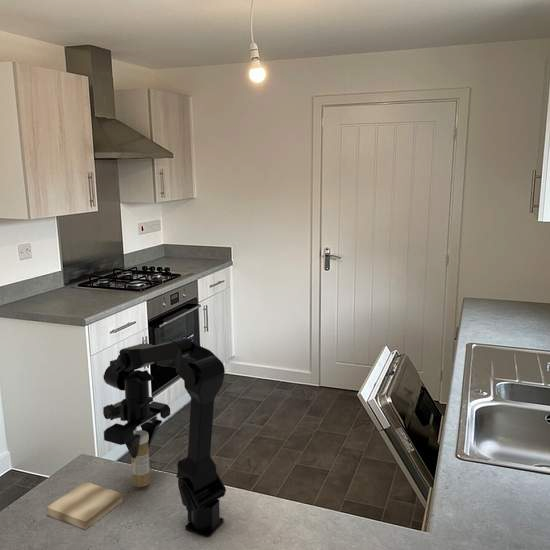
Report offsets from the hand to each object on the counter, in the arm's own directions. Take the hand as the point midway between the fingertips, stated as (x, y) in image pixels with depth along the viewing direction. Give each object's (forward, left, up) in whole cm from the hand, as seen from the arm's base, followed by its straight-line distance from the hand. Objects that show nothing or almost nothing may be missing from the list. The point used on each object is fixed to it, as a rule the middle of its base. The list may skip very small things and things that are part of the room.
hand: (140, 453), depth 136 cm
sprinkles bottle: (0, 0, -8) cm, 8 cm away
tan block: (+6, +13, -9) cm, 17 cm away
